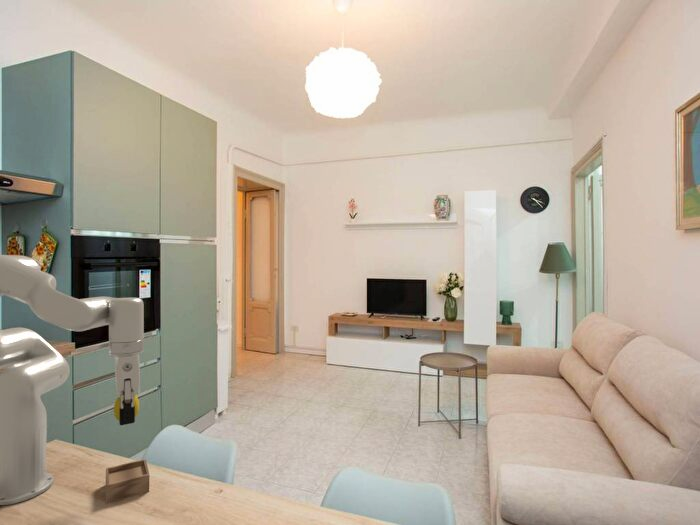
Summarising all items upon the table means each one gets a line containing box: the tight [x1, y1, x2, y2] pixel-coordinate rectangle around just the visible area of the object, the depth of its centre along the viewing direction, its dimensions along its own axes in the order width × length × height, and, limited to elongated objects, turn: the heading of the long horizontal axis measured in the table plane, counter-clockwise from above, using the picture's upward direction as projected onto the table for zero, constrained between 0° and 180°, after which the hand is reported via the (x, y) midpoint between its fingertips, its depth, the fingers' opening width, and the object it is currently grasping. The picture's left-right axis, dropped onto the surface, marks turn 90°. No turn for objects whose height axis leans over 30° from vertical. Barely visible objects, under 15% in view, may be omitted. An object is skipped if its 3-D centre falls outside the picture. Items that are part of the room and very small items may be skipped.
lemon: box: [113, 393, 140, 422], centre depth 97 cm, size 6×6×8 cm
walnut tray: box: [105, 458, 150, 504], centre depth 97 cm, size 9×9×4 cm
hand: (126, 418), depth 97 cm, fingers closed on lemon, 5 cm apart
